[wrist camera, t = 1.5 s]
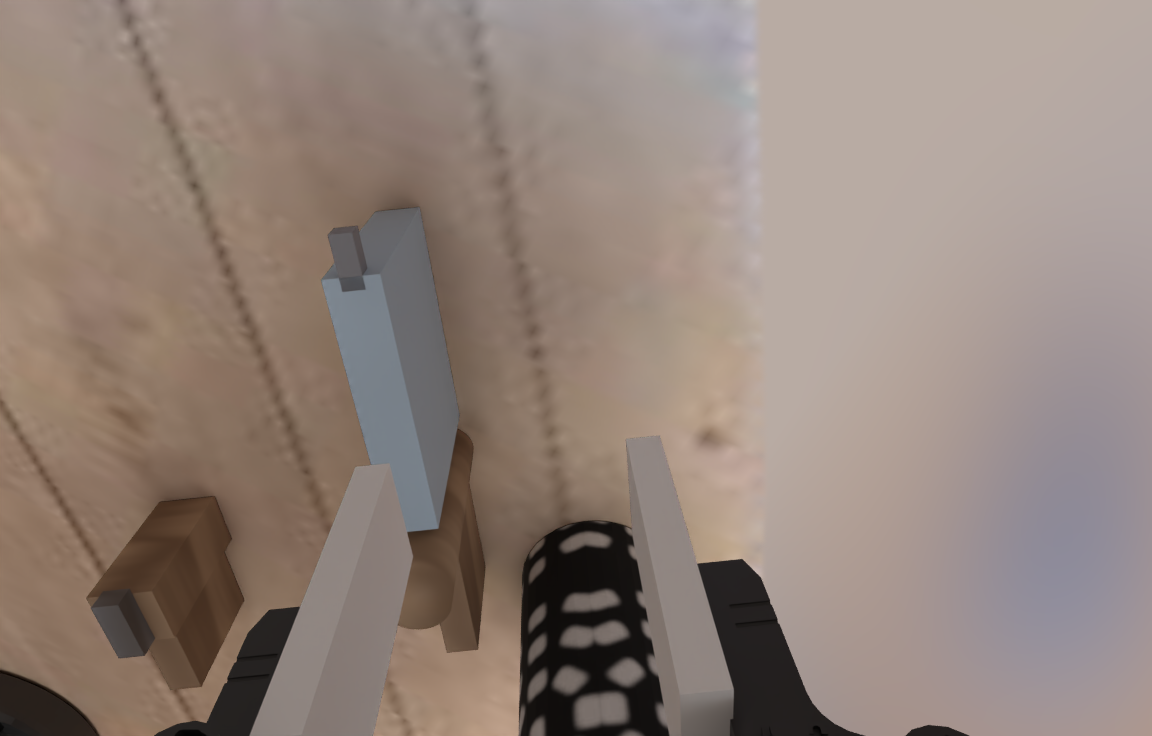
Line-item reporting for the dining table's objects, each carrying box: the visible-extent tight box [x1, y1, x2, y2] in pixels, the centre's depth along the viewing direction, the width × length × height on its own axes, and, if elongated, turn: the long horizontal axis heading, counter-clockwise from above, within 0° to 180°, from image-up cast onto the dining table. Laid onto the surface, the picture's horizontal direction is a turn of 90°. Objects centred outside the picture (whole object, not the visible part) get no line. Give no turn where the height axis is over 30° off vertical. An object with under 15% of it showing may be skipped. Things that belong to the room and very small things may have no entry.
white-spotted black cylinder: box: [519, 521, 669, 736], centre depth 33 cm, size 8×8×20 cm
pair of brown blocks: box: [86, 429, 485, 690], centre depth 34 cm, size 17×10×11 cm, turn 95°
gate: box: [321, 207, 460, 532], centre depth 30 cm, size 12×2×9 cm, turn 5°
